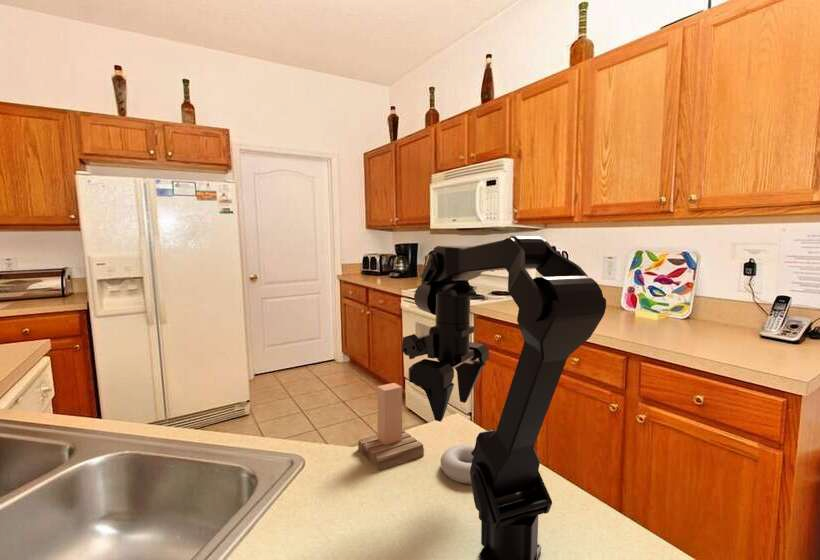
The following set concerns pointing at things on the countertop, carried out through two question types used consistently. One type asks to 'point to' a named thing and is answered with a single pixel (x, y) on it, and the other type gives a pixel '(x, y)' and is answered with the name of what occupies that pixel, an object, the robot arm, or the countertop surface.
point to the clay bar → (389, 413)
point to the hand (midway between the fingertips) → (451, 410)
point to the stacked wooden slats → (390, 450)
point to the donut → (458, 463)
